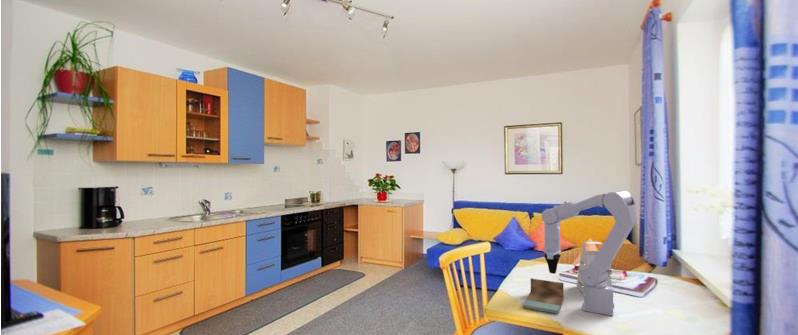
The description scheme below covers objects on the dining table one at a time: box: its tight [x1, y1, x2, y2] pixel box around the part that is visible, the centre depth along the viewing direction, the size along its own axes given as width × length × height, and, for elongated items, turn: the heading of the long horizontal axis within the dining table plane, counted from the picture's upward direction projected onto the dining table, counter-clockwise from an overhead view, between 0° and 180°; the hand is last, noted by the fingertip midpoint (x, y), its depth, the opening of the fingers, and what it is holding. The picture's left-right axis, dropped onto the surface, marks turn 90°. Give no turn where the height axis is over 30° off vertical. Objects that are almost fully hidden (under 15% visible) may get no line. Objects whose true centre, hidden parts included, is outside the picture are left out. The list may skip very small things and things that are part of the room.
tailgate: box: [522, 299, 561, 314], centre depth 132 cm, size 12×1×6 cm
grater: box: [576, 241, 613, 294], centre depth 149 cm, size 10×10×20 cm
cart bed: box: [525, 278, 565, 310], centre depth 139 cm, size 12×10×6 cm
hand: (552, 272), depth 144 cm, fingers closed
